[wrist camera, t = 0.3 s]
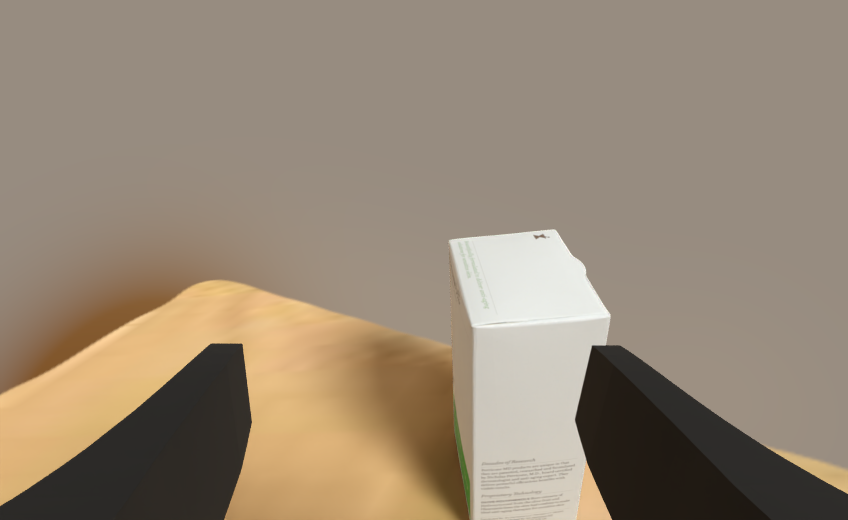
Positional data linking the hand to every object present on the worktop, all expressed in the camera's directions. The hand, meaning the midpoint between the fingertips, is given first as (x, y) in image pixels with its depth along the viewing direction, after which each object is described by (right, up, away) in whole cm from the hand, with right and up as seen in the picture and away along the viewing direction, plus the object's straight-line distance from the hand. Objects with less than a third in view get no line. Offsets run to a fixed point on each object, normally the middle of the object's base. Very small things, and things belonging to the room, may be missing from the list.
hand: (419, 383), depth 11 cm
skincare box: (+6, -11, +23) cm, 26 cm away
